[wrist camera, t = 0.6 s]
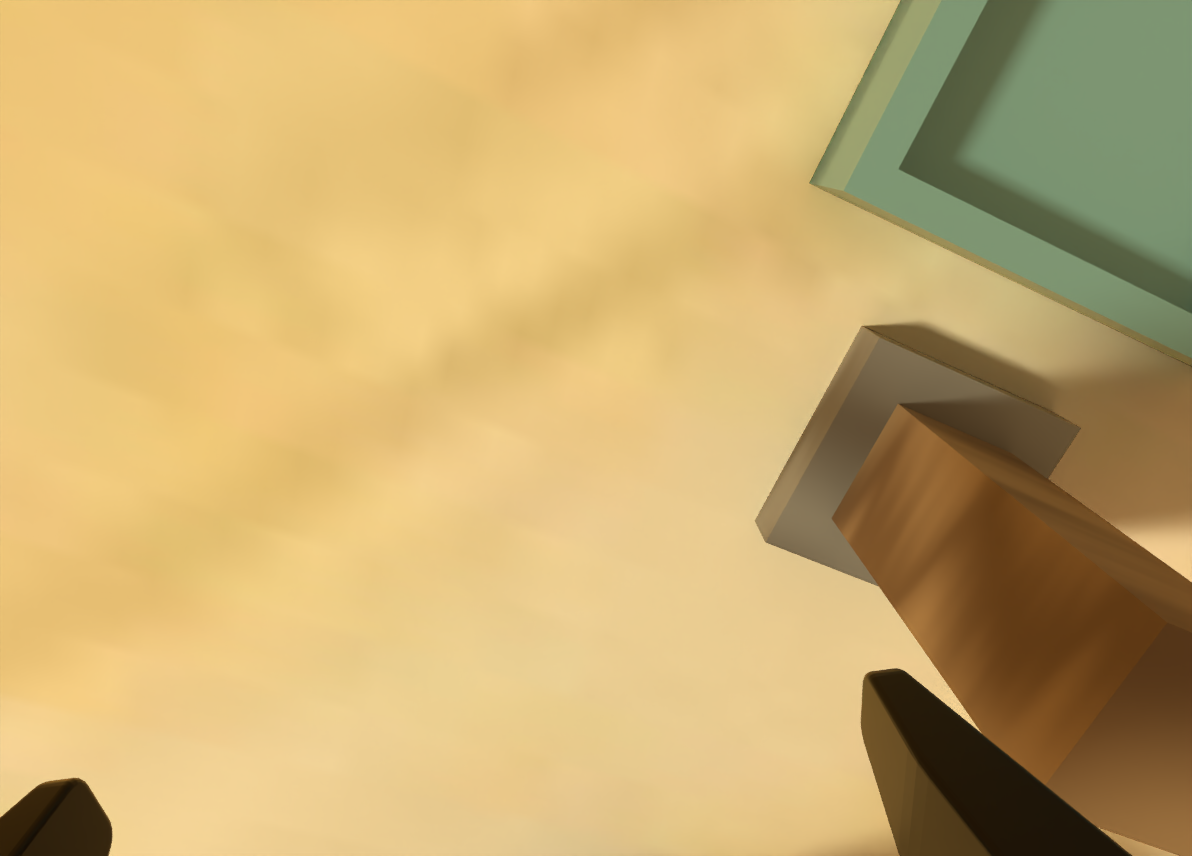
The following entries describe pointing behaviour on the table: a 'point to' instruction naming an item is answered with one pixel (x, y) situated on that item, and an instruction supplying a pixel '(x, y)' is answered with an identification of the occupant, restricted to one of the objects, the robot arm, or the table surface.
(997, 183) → the tray
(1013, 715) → the handle post
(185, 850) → the table surface
